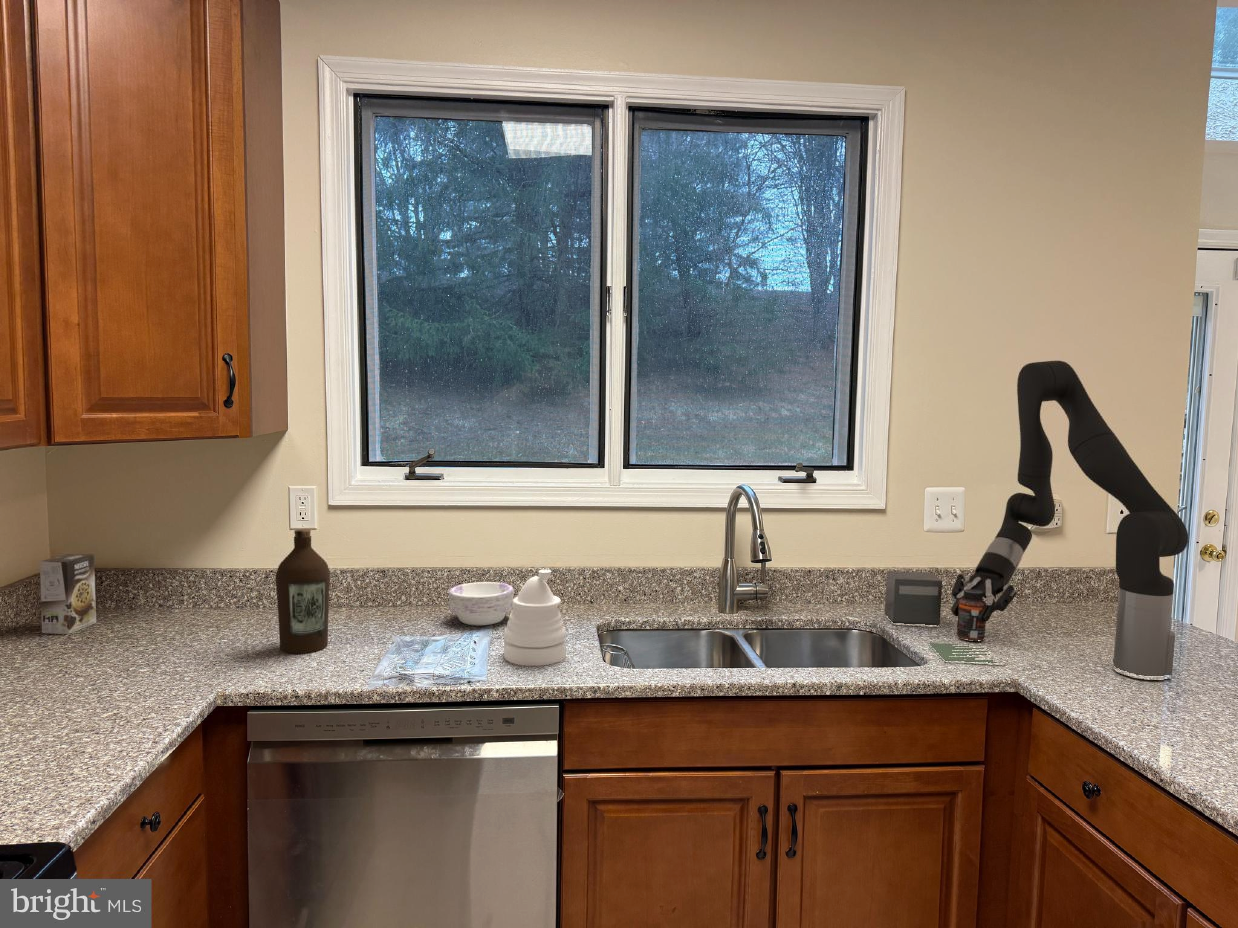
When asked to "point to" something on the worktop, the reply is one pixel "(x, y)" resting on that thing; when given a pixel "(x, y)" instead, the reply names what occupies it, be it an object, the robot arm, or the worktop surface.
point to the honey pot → (535, 626)
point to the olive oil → (303, 598)
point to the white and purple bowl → (481, 602)
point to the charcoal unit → (913, 597)
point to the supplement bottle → (971, 615)
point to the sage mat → (946, 651)
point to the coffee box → (67, 593)
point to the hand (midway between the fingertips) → (967, 617)
